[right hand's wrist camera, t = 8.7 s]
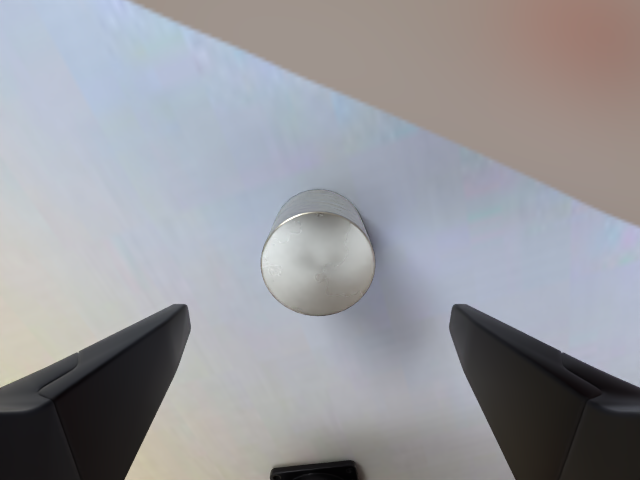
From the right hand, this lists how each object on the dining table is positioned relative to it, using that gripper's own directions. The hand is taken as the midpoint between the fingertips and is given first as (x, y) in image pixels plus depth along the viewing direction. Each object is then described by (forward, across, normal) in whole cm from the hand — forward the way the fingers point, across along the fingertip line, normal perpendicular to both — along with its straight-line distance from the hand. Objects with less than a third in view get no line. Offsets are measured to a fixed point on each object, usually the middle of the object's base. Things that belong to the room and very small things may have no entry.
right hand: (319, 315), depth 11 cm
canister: (+8, 0, 0) cm, 8 cm away
